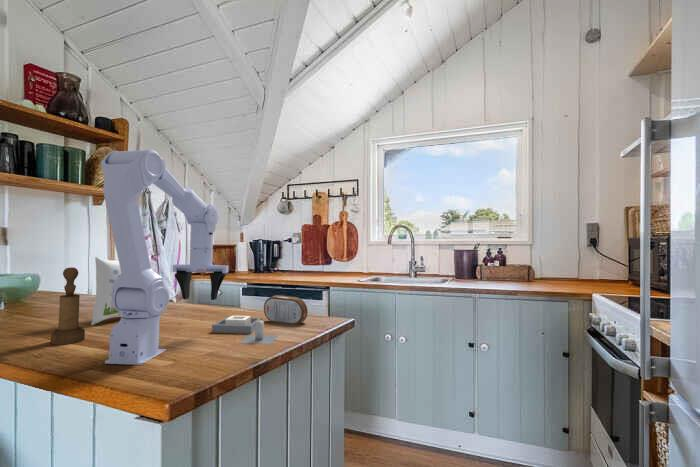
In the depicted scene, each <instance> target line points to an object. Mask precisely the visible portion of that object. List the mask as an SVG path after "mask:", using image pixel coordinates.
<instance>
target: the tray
mask: <svg viewBox="0 0 700 467" xmlns="http://www.w3.org/2000/svg"><path fill="white" fill-rule="evenodd" d="M229 317H230V316H226V317H224V318H222V319H220V320H219V321H216V322H215V323H213V324H212V325H211V333H215V334H217V333H218V334H247V335H252V334H253V333H254V332H255V329H256V321H259V320H262V321H263V319H262V317H251V324H250V325H225V319H227V318H229Z"/></svg>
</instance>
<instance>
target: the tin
mask: <svg viewBox="0 0 700 467" xmlns="http://www.w3.org/2000/svg"><path fill="white" fill-rule="evenodd" d="M263 304H264V305H263V312H264V316H265V318H267V320H268V321H270V322H272V323H290V324H295V325H296V324H297V325H298V324H302V323H304V322H305V321H306V319H307V318H308V306H307V304H306V303H305V301H304V300H303V299H301V297H297V296H290V295H289V296H288V295H280V294H275V295H272V296H271V297H270V296H269V297H268V298H267V299H266V300H265V302H264V303H263Z"/></svg>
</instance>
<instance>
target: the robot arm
mask: <svg viewBox="0 0 700 467" xmlns="http://www.w3.org/2000/svg"><path fill="white" fill-rule="evenodd" d="M100 166H101V170H102V175H103V179H104V180H103V189H102V192H103V197H104V202H105V207H106V211H107V215H108V219H109V223H110V224H109V225H110V229H111V233H112V237H113V241H114V246H115V251H116V255H117V260H119V264H120V269H121V273H122V275H121V276H120V277H119V278H118V279H116V280H115V282H114V283H113V288H114V294H113V305H114V307H115V309H116V310H117V311H119V317H120V319H119V322H117V323H115V324H114V325H113V326H112V328H111V330H110V333H109V347H108V349H109V351H108V352H109V353H108V359H106V360H104V364H108V365H139V366H141V365H145V362H148V361H149V360H151V359H152V358H154V357H156V356H158V355H160V354H162V353H163V352H165V351H167V349H166V348H159V347H160V346H159V344H160V320H161V319H160V318H161V317H160V315H163V314H164V311H165V310H166V309H167V308H168V305H169V301H170V293H169V290H168V288H167V287H166V284H164V279H163V277H162V276H161V275H159V274H158V273H157V272H156V271H154V270H153V269H152V266H151V265H152V264H151V262H150V260H149V255H150V254H149V251H148V246H147V241H146V236H145V230H144V227H143V222H142V217H141V213H140V212H141V211H140V206H139V201H138V197H139V196H140V194H141V193H142V191H145V190H147V188H148V187H150V186H151V185H152V184H153V185H155V186H156V187H157V188H158V189H160V190H161V191H163V193H165V194H166V195H168V196H170V197H171V198H172V199H171V203H172V206H174V207H175V208H176V209H178V211H180V212H181V213H182V214H183V216H184V217H185V220H186V222H187V224H188V225H190V242H189V243H190V244H189V245H190V246H189V264H183V263H181V264H180V263H179V264H176V263H175V264H173V265H172V272H173V273H174V278H175V280H176V281H177V283H178V286H179V288H180V291H181V296H182V299H183V300H189V299H190V289H191V288H190V285H191V279H192V275H193V273H210V274H209V277H210V286H211V287H210V288H211V289H210V299H211V301H215V300H217V298H218V293H219V290H220V288H221V285H222V282H223V281H224V279H225V278H226V275H227V274H228V273H229V265H227V264H226V265H225V264H223V265H221V264H213V250H214V233H215V232H216V227H217V226H216V225H217V224H218V221H219V215H218V211H217V208H215V207H214V206H213V205H210V204H206V202H205V201H204V200H203V199H201V198H200V196H199V195H197V194H196V192H195V190H194V189H193V188H189V187H183V186H182V185H181V184H180V183H179V182H178V181H177V179H176V178H175V177H174V176H173V175H172V173H171V172H170V171H169V170H168V168H167V166H166V160H165V159H164V158H163V157H161V155H160V154H159V153H158V152H157V151H156V150H154V149H150V148H149V149H144V150H141V149H140V150H122V151H120V150H112V151H110V152H108V153H107V154H106V156H105V157H104V158H103V159H102V160H101V162H100Z"/></svg>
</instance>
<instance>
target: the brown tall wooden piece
mask: <svg viewBox="0 0 700 467" xmlns="http://www.w3.org/2000/svg"><path fill="white" fill-rule="evenodd" d="M62 276H63V277H64V279H65V280H66V284H65V285H64V286H63V288H64V292H65V294H64V295H63V294H62V295H60V296H59V307H58V310H59V311H58V326H57V327H58V328H57V329H54V330H53V331H52V332H51V333H50V344H51V345H57V346H58V345H60V346H61V345H63V346H64V345H68V344H69V345H70V344H71V345H72V344H76V343H79V342H82V341H84V340H85V336H86V334H85V333H86V332H85V329H84V328H82V327H81V326H79V317H80V297H81V295H80V294H74V293H75V292H76V288H77V286H76V285H75V280H76V279H77V278H78V276H79V270H78V268H76V267H66V268H65V269H63V271H62Z"/></svg>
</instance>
